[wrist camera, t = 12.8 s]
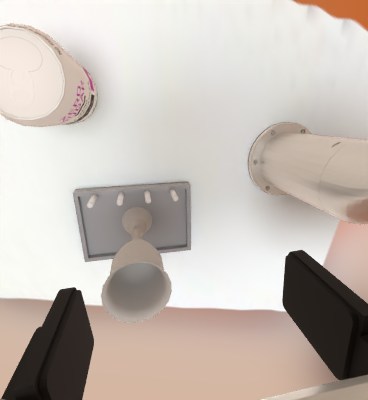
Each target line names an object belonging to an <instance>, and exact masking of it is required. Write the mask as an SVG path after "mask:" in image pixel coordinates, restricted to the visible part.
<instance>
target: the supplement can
mask: <svg viewBox="0 0 368 400" xmlns="http://www.w3.org/2000/svg"><path fill="white" fill-rule="evenodd" d="M96 102H97V91H96V86H95V83H94V81H93V79H92V78H91V76H90V74H89V73H88V72H87V71H86V70H85V69H84V68H83V67H82V66H81V65H80V64H79V63H78V62H77V61H75V60H74V59H73V58H72V57H71V56H70V55H69V54H68V53H67V52H66V51H65V50H64V49H63V48H62V47H61V46H60V45H58V44H57V43H56V42H55V41H54V40H53V39H52V38H51V37H50V36H49V35H47V34H45V33H43V32H41V31H39V30H37V29H35V28H33V27H31V26H26V25H19V24H12V23H11V24H7V25H3V26H0V114H1V115H2V116H3V117H5V118H6V119H8V120H10V121H13V122H15V123H18V124H21V125H23V126H34V127H46V126H56V125H66V124H74V123H78V122H81V121H84V120H85V119H86V118H87V117H89V116H90V115H91V114H92V112H93V110H94V108H95V107H96Z"/></svg>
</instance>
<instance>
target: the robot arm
mask: <svg viewBox="0 0 368 400" xmlns="http://www.w3.org/2000/svg"><path fill="white" fill-rule="evenodd" d="M270 132H271V133H270ZM253 161H254V162H253ZM248 165H249V172H250V176H251V178H252V180H253V182H254V183H255V184H256V186H257V187H259V188H260V189H261V190H263V191H264V192H266V193H269V194H273V195H284V194H287V193H288V194H290V195H292V196H294V197H296V198H298V199H300V200H302V201H304V202H306V203H308V204H310V205H312V206H314V207H316V208H318V209H320V210H322V211H324V212H326V213H328V214H330V215H332V216H334V217H336V218H338V219H341V220H343V221H346V222H349V223H354V224H368V140H363V139H353V138H343V137H332V136H322V135H312V134H311V132H310V131H309V130H308V129H307V128H305V127H304V126H302V125H300V124H297V123H289V122H288V123H279V124H276V125H273V126H271V127H269V128H268V129H267V130H265V131H264V132H263V133H262V134H261V135H260V136H259V137H258V138H257V140H256V141H255V143H254V145H253V147H252V149H251V152H250V155H249V162H248ZM265 187H266V188H265ZM283 306H284V308H285V310H286V311H287V313H288V314H289V315H290V317H291V318H292V319H293V321H294V322H295V323H296V325H297V326H298V327H299V329H300V330H301V331H302V333H303V334H304V335H305V337H306V338H307V339H308V341H309V342H310V344H311V345H312V346H313V348H314V349H315V350H316V352H317V353H318V354H319V355H320V357H321V358H322V360H323V361H324V362H325V364H326V365H327V366H328V368H329V369H330V370H331V372H332V373H333V374H334V376H335V377H336V378H337V379H339V380H341V381H336V382H332V383H328V384H323V385H320V386H315V387H311V388H307V389H302V390H298V391H294V392H290V393H285V394H281V395H277V396H273V397H269V398H264V399H260V400H368V304H367V303H366V302H365V301H364V300H363V299H361V298H360V297H359V296H358V295H357V294H355V293H354V292H353V291H352V290H351V289H349V288H348V287H347V286H346V285H344V284H343V283H342V282H341V281H340V280H338V279H337V278H336V277H335V276H334V275H332V274H331V273H330V272H329V271H328V270H326V269H325V268H324V267H323V266H322V265H320V264H319V263H318V262H317V261H315V260H314V259H313V258H312V257H311V256H309V255H308V254H307V253H306V252H305V251H303V250H299V251H293V252H289V254H288V256H286V259H285V273H284V287H283ZM93 346H94V338H93V334H92V330H91V327H90V323H89V319H88V316H87V312H86V308H85V304H84V301H83V297H82V293H81V291H80V290H76V288H75V287H73V288H67V289H61V290H60V291H59V292H58V294H57V296H56V298H55V300H54V302H53V305H52V307H51V309H50V311H49V313H48V315H47V317H46V319H45V321H44V323H43V325H42V327H39V328H37V329H36V331H35V333H34V334H33V336H32V338H31V340H30V343H29V344H28V346H27V348H26V350H25V352H24V354H23V357H22V359H21V360H20V362H19V364H18V366H17V368H16V370H15V372H14V374H13V376H12V378H11V380H10V382H9V384H8V386H7V388H6V390H5V392H4V394H3V396H2V398H1V400H82V398H83V392H84V388H85V384H86V379H87V374H88V369H89V365H90V360H91V355H92V351H93Z"/></svg>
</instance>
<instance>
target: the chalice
mask: <svg viewBox="0 0 368 400" xmlns="http://www.w3.org/2000/svg"><path fill="white" fill-rule="evenodd" d="M151 225H152V216H151V214H150V213H149V212H148V211H147V210H146V209H144V208H141V207H133V208H131V209H128V210H127V211H126V212H125V213H124V215H123V217H122V226H123V227H124V229H125V230H126V231H127V232H128V233H130V234H131V236H132V241H130V242H128V243H126V244H125V245H124V246H123V247H122V248H121V249H120V250H119V251H118V252H117V253H116V255H115V257H114V259H113V262H112V266H111V272H110V276H109V277H108V279H107V280H106V282H105V284H104V285H103V289H102V294H101V297H102V304H103V306H104V308H105V309H106V311H107V313H109V314H110V315H111V316H112V317H114V318H115V319H117V320H120V321H123V322H132V323H136V322H141V321H145V320H148V319H150V318H152V317H154V316H155V315H157V314H158V313H159V312H160V311H161V310H162V309H163V308H164V307H165V306H166V304H167V303H168V301H169V298H170V295H171V281H170V279H169V277H168V274H167V273H166V272H165V271H164V269H163V263H162V258H161V256H160V253H159V251H158V250H157V249H156V248H155V247H154V246H153V245H151V244H150V243H149V242H147V241H145V240H143V238H142V236H143V234H144V233H145V232H146V231H148V230H149V228H150V227H151Z"/></svg>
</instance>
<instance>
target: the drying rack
mask: <svg viewBox="0 0 368 400" xmlns="http://www.w3.org/2000/svg"><path fill="white" fill-rule="evenodd" d="M73 196H74V202H75V208H76V214H77V219H78V225H79V231H80V236H81V242H82V248H83V253H84V259H85V262H89V261H97V260H106V259H114V257H115V255H116V253H117V252H118V251H119V250H120V249H121V248H122V247H123V246H124V245H125V244H126V243H128V242H130V241H132V236H131V234H130V233H128V232H127V231H126V230H125V229H124V227H123V226H122V217H123V215H124V213H125V212H126V211H127V210H128V209H131V208H133V207H141V208H144V209H146V210H147V211H148V212H149V213H150V214H151V216H152V225H151V227H150V228H149V230H148V231H146V232H145V233H144V234H143V236H142V238H143V240H145V241H147V242H149V243H150V244H151V245H153V246H154V247H155V248H156V249H157V250H158V251H159V253H167V252H176V251H185V250H191V223H190V184H189V183H188V182H180V183H165V184H150V185H135V186H119V187H104V188H89V189H76V190H75V191H74V192H73Z"/></svg>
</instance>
